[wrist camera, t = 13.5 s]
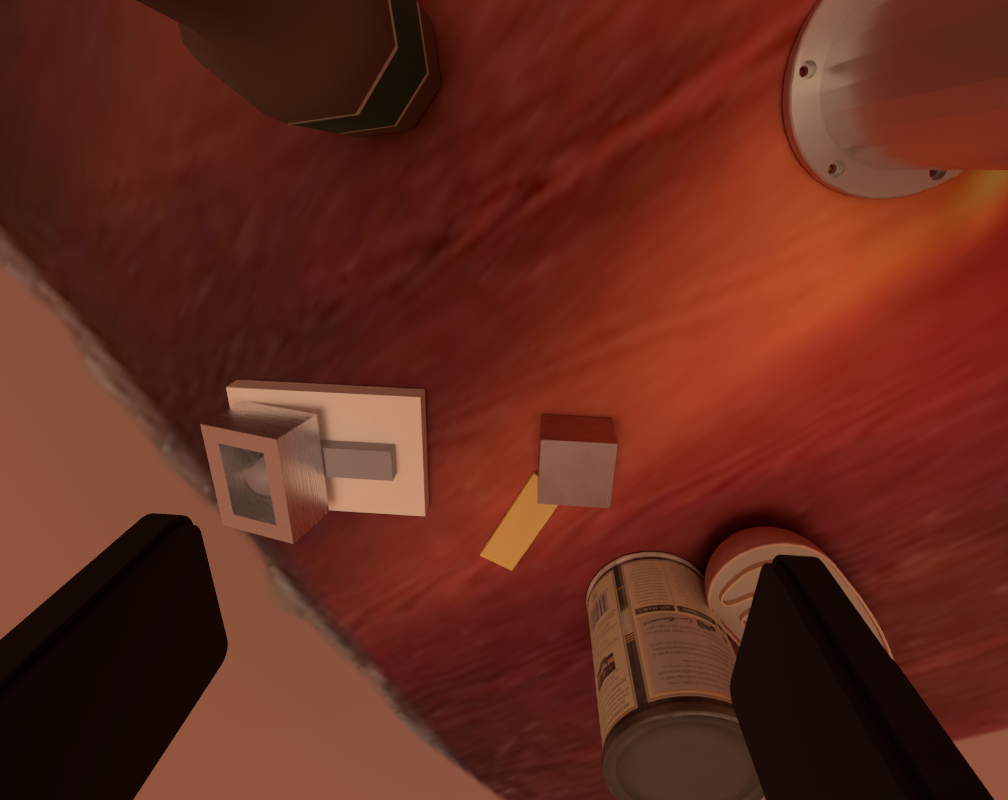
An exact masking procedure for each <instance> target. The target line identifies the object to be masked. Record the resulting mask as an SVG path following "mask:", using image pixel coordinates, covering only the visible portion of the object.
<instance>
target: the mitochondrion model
mask: <svg viewBox="0 0 1008 800" xmlns="http://www.w3.org/2000/svg"><path fill="white" fill-rule="evenodd" d="M780 554H782V555H797V556H813V557H817V558H819V559H820V560H821V561H822V562H823V563H824V564H825V566H826V567H827V569H828V570H829V571H830V573H831V574H832V576H833V577H834V578H835V580H836V581H837V583H838V584H839V585H840V587H841V588H842V590H843V591H844V592H845V594H846V595H847V597H848V598H849V600H850V601H851V602H852V604H853V605H854V607H855V608H856V609H857V611H858V612H859V614H860V615H861V616H862V618H863V619H864V621H865V622H866V623H867V625H868V626H869V628H870V629H871V630H872V632H873V633H874V635H875V636H876V637H877V639H878V640H879V642H880V643H881V644H882V646H883V647H884V649H885V650H886V652H887V653H888V654H889V656H890V657H891V658H892V659H893V656H892V653H891V651H890V648H889V645H888V643H887V641H886V639H885V636H884V634H883V632H882V630H881V628H880V626H879V625H878V623H877V621H876V619H875V617H874V616H873V614H872V612H871V611H870V609H869V608H868V606H867V605H866V603H865V602H864V601H863V599H862V598H861V596H860V595H859V593H858V592H857V591H856V590H855V588H854V587H853V586H852V584H851V583H850V582H849V581H848V579H847V578H846V577H845V576H844V574H843V573H842V572H841V571H840V569H839V568H838V567H837V566H836V564H835V563H834V562H833V561H832V560H831V559H830V558H829V557H828V556H827V555H826V554H825V553H824V552H823V551H822V550H821V549H820V548H818V547H817V546H816V545H815V544H813V543H812V542H811V541H810V540H808V539H806V538H804V537H803V536H801V535H799V534H797V533H794V532H792V531H789V530H786V529H781V528H776V527H771V526H768V527H752V528H748V529H744V530H741V531H739V532H737V533H735V534H732V535H730V536H729V537H728V538H726V539H725V540H724V541H723V542H722V543H720V544H719V545H718V547H717V548H716V549H715V551H714V552H713V554H712V555H711V557H710V559H709V561H708V564H707V568H706V571H705V582H704V586H705V596H706V601H707V605H708V608H709V609H710V610H711V611H712V612H713V610H714V611H715V613H716V614H717V615H718V617H719V618H720V620H721V622H722V625H723V627H724V629H725V631H726V633H727V634H728V635H729V636H730V637H731V638H732V639H733V640H734V641H735V642H736V643H737V644H738V646H739V647H740V644H741V640H742V636H743V633H744V629H745V625H746V622H747V618H748V615H749V611H750V607H751V604H752V600H753V596H754V593H755V589H756V586H757V582H758V578H759V575H760V571H761V568H762V566H763V565H764V564H765V563H772V561H773V559H774V558H775V557H776V555H780ZM893 660H894V659H893Z"/></svg>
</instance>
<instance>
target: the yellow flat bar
mask: <svg viewBox="0 0 1008 800" xmlns="http://www.w3.org/2000/svg"><path fill="white" fill-rule="evenodd" d="M537 490H538V473H536V472H534V471H533V473H532V475H531V476H530V478H529V479H528V481H527V482H526V484H525V485H524V487H523V488H522V490H521V491H520V493H519V494H518V496H517V497H516V499H515V500H514V502H513V503H512V505H511V506H510V508H509V509H508V511H507V513H506V514H505V516H504V517H503V519H502V520H501V522H500V523H499V525H498V526H497V528H496V529H495V531H494V532H493V534H492V535H491V537H490V538H489V540H488V541H487V543H486V544H485V546H484V548H483V549H482V551H481V552H480V556H482V557H484V558H486V559H488V560H490V561H492V562H494V563H496V564H499V565H501V566H503V567H505V568H507V569H509V570H511V571H512V570H513V568H514V567H515V566H516V564H517V563H518V561H519V560H520V559H521V557H522V556H523V554H524V553H525V551H526V550H527V549H528V547H529V546H530V544H531V543H532V541H533V540H534V539H535V537H536V536H537V534H538V533H539V532H540V530H541V529H542V527H543V526H544V524H545V523H546V522H547V520H548V519H549V517H550V516H551V514H552V513H553V512H554V510H555V509H556V507H557V506H558V505H551V504H537Z"/></svg>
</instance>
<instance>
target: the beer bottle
mask: <svg viewBox="0 0 1008 800" xmlns="http://www.w3.org/2000/svg"><path fill="white" fill-rule="evenodd" d="M137 1H139V2H141V3H143V4H145V5H147V6H149V7H151V8H152V9H154V10H156V11H158V12H160V13H162V14H164V15H166V16H168V17H170V18H172V19H174V20H175V21H177V22H178V25H179V29H180V32H181V35H182V39H183V42H184V45H185V46H186V47H187V48H188V49H189V51H190V52H191V53H192V54H193V55H194V57H195V58H196V59H197V60H198V61H199V62H200V63H201V64H202V65H203V66H205V67H206V68H207V69H208V70H210V71H211V72H212V73H213V74H215V75H216V76H217V77H218V78H220V79H221V80H222V81H223V82H225V83H226V84H227V85H228V86H230V87H231V88H232V89H233V90H235V91H236V92H237V93H238V94H240V95H241V96H242V97H243V98H245V99H246V100H247V101H248V102H250V103H251V104H252V105H253V106H255V107H256V108H257V109H258V110H260V111H261V112H262V113H263V114H265V115H266V116H268V117H271V118H273V119H276V120H279V121H281V122H284V123H286V124H291V125H297V126H302V127H308V128H313V129H318V130H324V131H329V132H335V133H340V134H345V135H351V136H372V135H379V134H386V133H394V132H401V131H408V130H413V129H414V127H415V126H416V124H417V123H418V121H419V120H420V118H421V116H422V115H423V113H424V112H425V110H426V109H427V107H428V105H429V104H430V102H431V101H432V99H433V97H434V96H435V94H436V93H437V91H438V90H439V88H440V86H441V80H440V73H439V66H438V59H437V51H436V44H435V37H434V30H433V25H432V23H431V21H430V19H429V17H428V15H427V14H426V12H425V11H424V10H423V8H422V7H421V6H420V4H419V3H418V2H417V0H137Z"/></svg>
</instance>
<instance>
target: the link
mask: <svg viewBox="0 0 1008 800" xmlns="http://www.w3.org/2000/svg"><path fill="white" fill-rule="evenodd" d="M200 425H201V429H202V434H203V438H204V443H205V447H206V452H207V456H208V461H209V465H210V469H211V474H212V478H213V483H214V487H215V492H216V496H217V501H218V505H219V510H220V514H221V518H222V523H223V525H225V526H228V527H232V528H236V529H240V530H243V531H247V532H251V533H254V534H258V535H262V536H266V537H269V538H273V539H277V540H281V541H284V542H288V543H292V544H294V543H295V542H296V541H297V540H298V539H299V538H301V537H302V536H303V535H304V534H305V533H306V532H307V531H308V530H309V529H310V528H311V527H313V526H314V525H315V524H316V523H317V522H318V521H319V520H320V519H321V518H322V517H323V516H325V515H326V514H327V513H328V512H329V508H328V500H327V492H326V484H325V476H324V468H323V460H322V452H321V444H320V436H319V429H318V421H317V414H313V413H307V412H302V411H296V410H291V409H285V408H280V407H274V406H269V405H263V404H258V403H253V402H247V401H245V402H243V403H241V404H239V405H237V406H235V407H233V408H231V409H229V410H227V411H225V412H223V413H221V414H219V415H217V416H215V417H213V418H211V419H209V420H207V421H205V422H203V423H201V424H200ZM263 456H264V459H265V464H266V470H267V476H268V481H269V487H270V493H271V496H265V495H261V494H259V493H257V492H255V491H254V490H253V489H252V488H251V487H250V486H249V484H248V481H247V473H248V471H249V470H250V469H251V468H252V467H253V466H254V465H255V464H256V463H257V462H258V461H259V460H260V459H261V458H262V457H263Z"/></svg>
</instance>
